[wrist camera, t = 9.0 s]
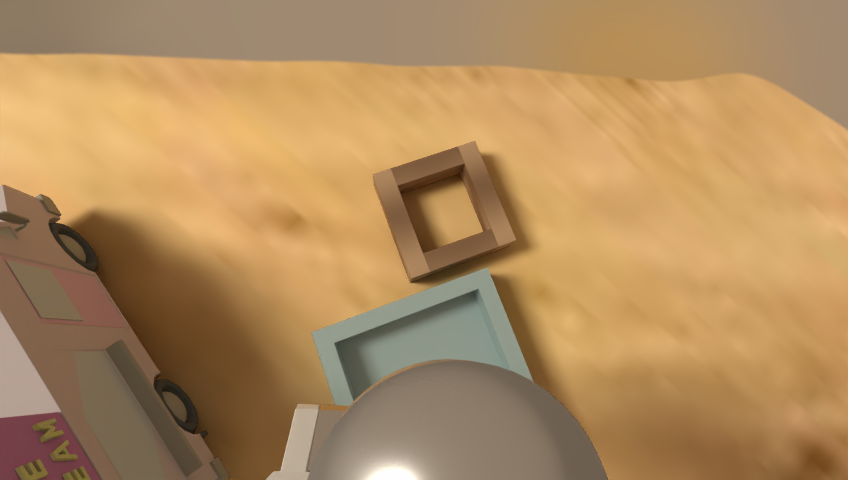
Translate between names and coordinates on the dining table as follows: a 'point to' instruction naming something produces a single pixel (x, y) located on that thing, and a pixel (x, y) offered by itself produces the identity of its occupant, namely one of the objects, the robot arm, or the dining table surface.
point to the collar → (428, 172)
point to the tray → (419, 336)
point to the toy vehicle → (80, 367)
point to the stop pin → (456, 429)
